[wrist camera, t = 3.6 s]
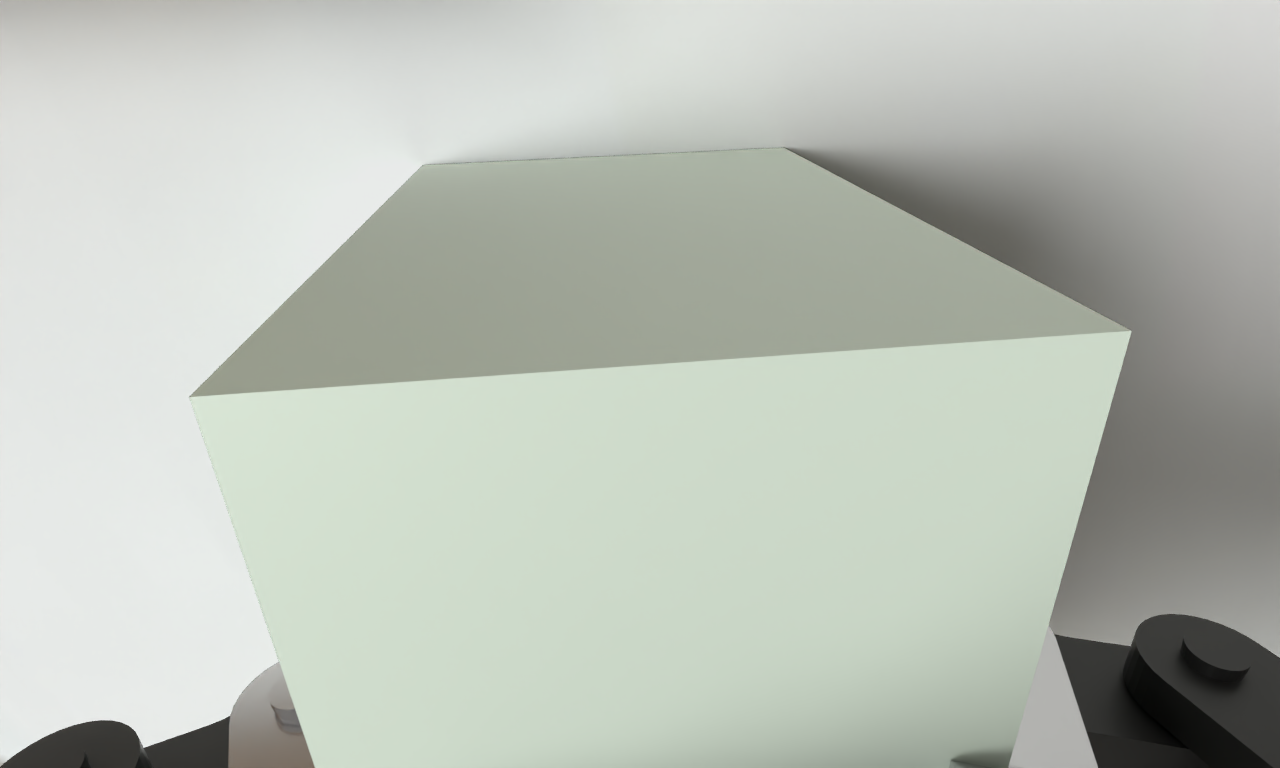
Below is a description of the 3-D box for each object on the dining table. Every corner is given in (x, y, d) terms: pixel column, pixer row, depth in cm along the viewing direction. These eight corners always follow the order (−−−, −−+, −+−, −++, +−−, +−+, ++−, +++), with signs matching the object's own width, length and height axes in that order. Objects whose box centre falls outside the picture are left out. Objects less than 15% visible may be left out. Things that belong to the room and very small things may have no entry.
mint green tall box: (784, 147, 10) (1132, 329, 4) (755, 693, 15) (895, 1167, 9) (422, 165, 10) (188, 395, 4) (510, 719, 15) (472, 1233, 8)
